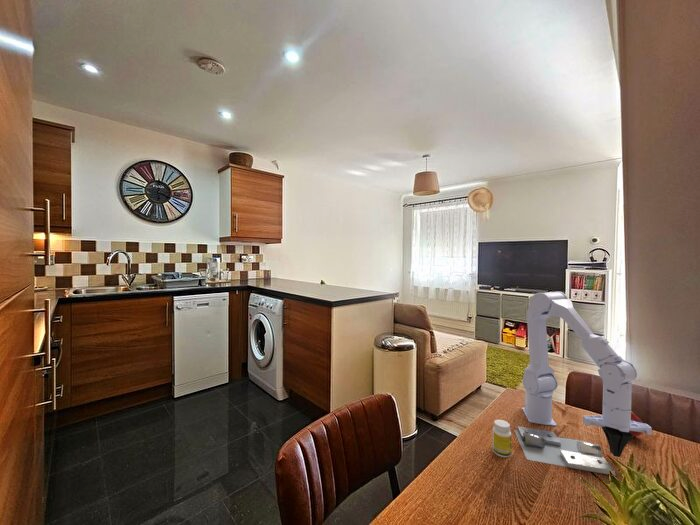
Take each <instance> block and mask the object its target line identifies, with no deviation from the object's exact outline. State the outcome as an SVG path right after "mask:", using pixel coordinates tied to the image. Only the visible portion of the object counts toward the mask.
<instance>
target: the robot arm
mask: <svg viewBox="0 0 700 525" xmlns="http://www.w3.org/2000/svg"><path fill="white" fill-rule="evenodd" d="M528 300H529V301H528V302H529V305H528V308H527V311H526V321H527V322H526V324H527V336H528V338H527V340H528V353H529V354H528V356H529V364H528V365H527V366H526V367H525V368H524V370H523V377H522V380H521V383H522V385H523V388H524V389H525V395H524V407H521V410H522V409H523V410H522V411H523V413H524V415H525V417H526V419H527V420H528V422H529V423H533V424H538V425H539V424H540V425H545V426H554V427H557V422H555V420H554V419H553V394H554V391H556V390H557V388H558V386H559V384H558V383H559V382H558V379H557V377H556V376H555V370H554V369H553V368H552V366H550V363H549V349H548V347H549V346H548V335H547V334H548V333H547V319H548V318H549V317H551V316H553V317H558V318H561V319H563V321H564V322H565V323H566V324H567V326H568V327H569V328H570V329H571V330H572V331H573V332H574V333H575V334H576V335H577V336H578V337H579V338H580V339H581V347H582V349H583V351H585V353H587V355H588V356H589V357H590V359H591V360H592V361H593V362H594V363H595V365H596V366H597V367H598V369H597V372H598V375H599V378H601V380H602V414H599V415H597V414H596V415H585V414H584V415H582V422H583V424H584V425H585V426H589V427H591V426H595V427H601V429H602V432H604V435H605V437H606V440H607V443H608V447H609V451H610V452H609V453H611V454H612V455H613V457H616V458H617V457H618V458H621V455H622V453H623V451H624V449H625V448H626V446H627V444H628V443H629V442H630V441H631V440H633V438H634V437H633V435H632V434H631V433H630V431H636V432H643V433H642V434H644V433H645V434H646V435H648V436H649V435H651V436H652V434H653V432H652V430H653V429H652V427H651V426H650V425H649V424H647V423H643V422H642V423H640V422H635V421H631V411H632V392H633V390H632V387H633V386H632V385H633V384H632V383H633V382H634V381H635V380H636V379H637V377H638V373H637V369H636V368H635V366H634V365H633V363H631V362H630V361H628V360H626V359H624V358H623V357H621V355H618V354H617V352H616V351H615V350H614V349H613V348H612V347H611V345H610V342H609V340H608V339H606V338H604V337H603V336H601V335H597V334H594V333H593V331H592V330H591V328H590V327H589V326H588V324H586V322H585V321H584V319H583V318H582V316H580V314H579V313H578V312H577V310H576V309H575V308H574V305H573V302H572V300H571V299H569V297H568V296H567V295H566V294H565V292H562V291H558V290H557V291H552V292H551V291H549V292H548V291H547V292H536V293H534V294H533V295H531V296H530V297H529V299H528Z"/></svg>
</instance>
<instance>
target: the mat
mask: <svg viewBox="0 0 700 525" xmlns="http://www.w3.org/2000/svg"><path fill="white" fill-rule="evenodd" d="M513 431H514V433H515V435H516V436H515V437H516V438H517V440H518V443H519V444H520V447H521V449H522V452H523V454H524V456H525V458H526V460H527V461H532V462H537V463H543V464H549V465H556V466H560V467H566V468H569V467H568V466H567V464H566V463H565V461H564V459H563V458H562V456H561V455H560V450H565V451H571V452H577V453H579V452H578V450H577V441H580V442H586V443H590V441H585V440H578V439H572V438H565V437H559V436H557V438H558V439H559V441H560V442H561V447H559V446H553V445H547V444H545V448H539V447H533V446H527V445H525V444H524V442H523V441H522V440H521V437H520V435H519V432H518V430H517V429H516V430H513ZM615 476H616V477H617V474H615Z"/></svg>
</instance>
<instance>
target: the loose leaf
mask: <svg viewBox="0 0 700 525" xmlns="http://www.w3.org/2000/svg"><path fill="white" fill-rule="evenodd" d="M580 441H581V440H579V441H577V450H578V452H579V453H577V452H571V451H565V450H560V455H561V456H562V458H563V459H564V461H565V463H566V464H567V466H568V467H567V468H570V469H575V470H581V471H586V472H591V473H592V472H593V473H597V474H604V475H608V473H609V471H611V472H612V474H614V476H615V475H616V474H615V472H616V471H615V470H614V468H613V467H612V466H611V465H610V463H609V462H608V461H607V460H606V458H605V457H604V456H603V451H602V448H601V446H600V445H599V444H597V443H593V442H592V443H591V442H589V443H586V442H587V441H586V442H580Z"/></svg>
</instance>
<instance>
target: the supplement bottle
mask: <svg viewBox="0 0 700 525" xmlns="http://www.w3.org/2000/svg"><path fill="white" fill-rule="evenodd" d="M491 447H492V452H493V453H494V454H495V455H496V456H498V457H501V458H509V457H511V456H512V432H511V424H510V423H509V422H508V421H506V420H503V419H495V420H494V423H493V427H492V446H491Z"/></svg>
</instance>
